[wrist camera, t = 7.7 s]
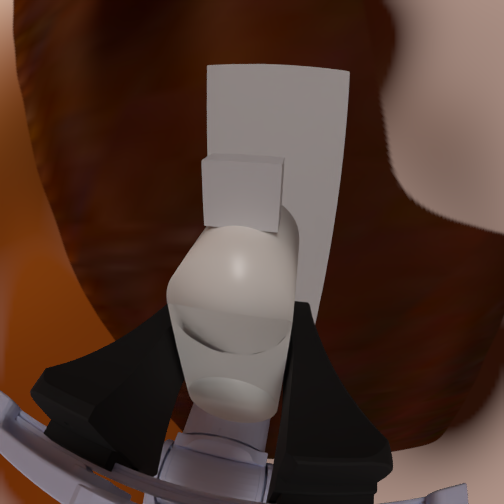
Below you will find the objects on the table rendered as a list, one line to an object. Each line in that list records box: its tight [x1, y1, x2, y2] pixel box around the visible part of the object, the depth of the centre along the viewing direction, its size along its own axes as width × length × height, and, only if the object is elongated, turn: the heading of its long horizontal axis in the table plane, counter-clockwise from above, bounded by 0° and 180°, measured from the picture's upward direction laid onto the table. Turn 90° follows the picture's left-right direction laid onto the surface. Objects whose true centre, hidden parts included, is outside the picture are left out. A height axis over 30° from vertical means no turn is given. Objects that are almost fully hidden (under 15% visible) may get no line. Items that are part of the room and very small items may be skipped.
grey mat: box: [207, 64, 350, 323], centre depth 19 cm, size 20×8×1 cm, turn 179°
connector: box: [167, 153, 299, 423], centre depth 11 cm, size 10×4×4 cm, turn 178°
